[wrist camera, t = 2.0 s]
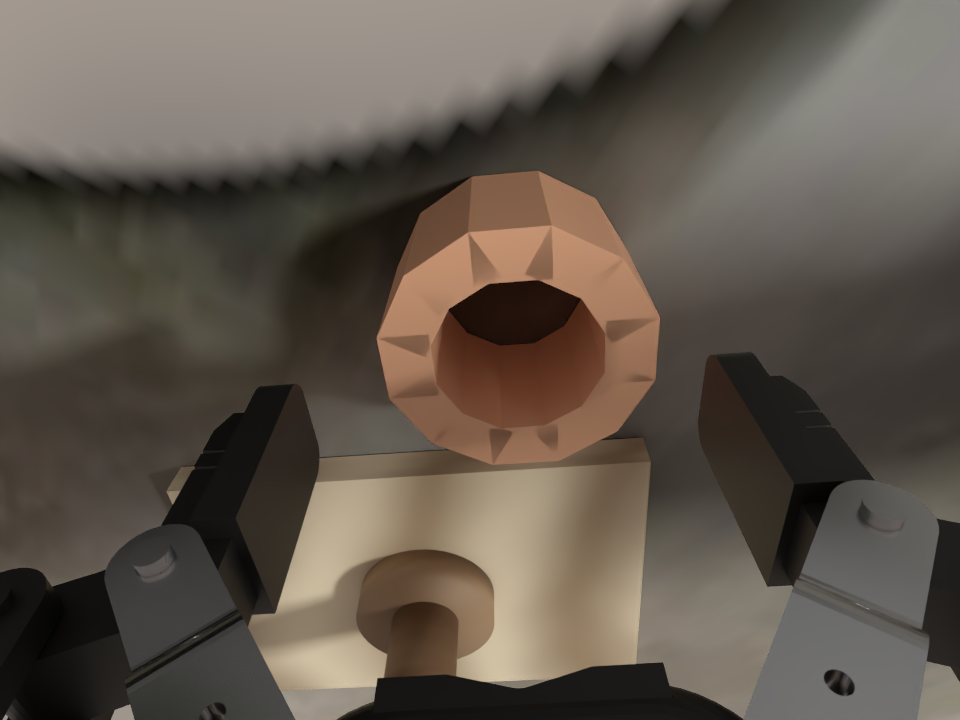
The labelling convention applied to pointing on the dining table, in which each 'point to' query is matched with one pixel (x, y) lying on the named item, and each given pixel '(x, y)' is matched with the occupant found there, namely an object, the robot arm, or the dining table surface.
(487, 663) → the base board
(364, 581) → the post
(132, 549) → the robot arm
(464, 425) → the ring
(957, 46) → the dining table surface
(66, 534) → the dining table surface
